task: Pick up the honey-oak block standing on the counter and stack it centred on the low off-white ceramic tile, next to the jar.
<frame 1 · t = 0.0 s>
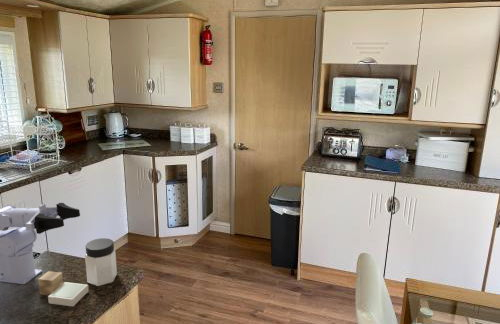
hand: (71, 217, 110), 22 cm above the countertop, tool horizontal, fingers open, 7 cm apart
oak block: (52, 290, 111), on the countertop
jar: (102, 279, 118), on the countertop
tile base: (69, 297, 108), on the countertop
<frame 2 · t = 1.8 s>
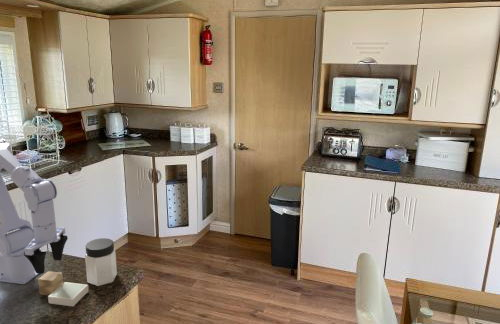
hand: (49, 266, 109), 8 cm above the countertop, tool pointing down, fingers open, 7 cm apart
nothing on the countertop moved.
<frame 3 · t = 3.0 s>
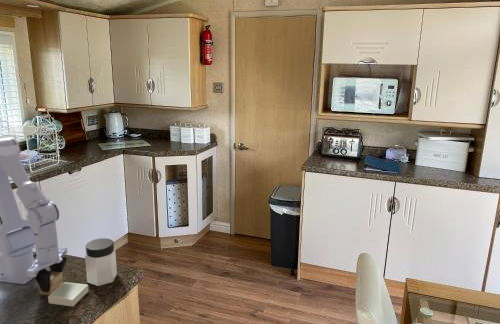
hand: (51, 286, 111), 1 cm above the countertop, tool pointing down, fingers closed on oak block, 4 cm apart
oak block: (52, 290, 111), on the countertop, touching gripper
everything else where it was.
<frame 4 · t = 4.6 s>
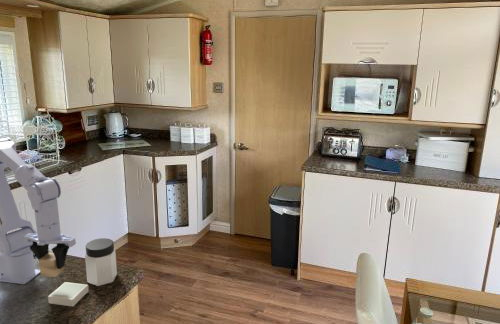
hand: (53, 266, 107), 9 cm above the countertop, tool pointing down, fingers closed on oak block, 4 cm apart
oak block: (53, 272, 107), point 7 cm above the countertop, touching gripper
everything else where it was.
when the fingers open (5 cm above the countertop, at t = 6.1 s): oak block stays where it is, resting on tile base.
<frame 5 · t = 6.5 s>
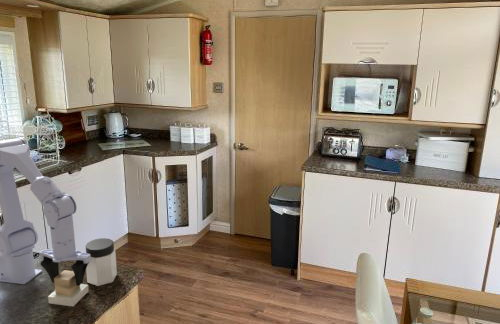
hand: (67, 282, 107), 5 cm above the countertop, tool pointing down, fingers open, 7 cm apart
oak block: (68, 290, 107), point 2 cm above the countertop, touching tile base
everything else where it was.
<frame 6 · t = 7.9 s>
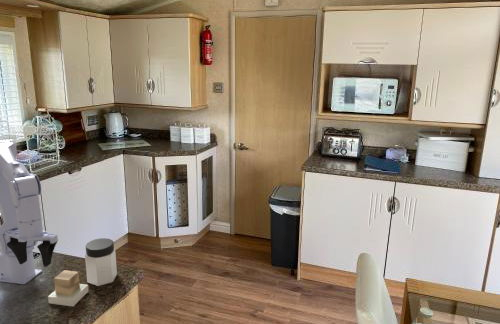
hand: (35, 263, 106), 10 cm above the countertop, tool pointing down, fingers open, 7 cm apart
nothing on the countertop moved.
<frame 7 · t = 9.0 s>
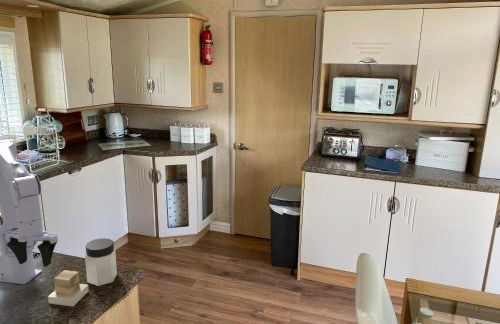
hand: (35, 263, 106), 10 cm above the countertop, tool pointing down, fingers open, 7 cm apart
nothing on the countertop moved.
at the end: oak block 0.2 cm off-centre on the tile base, point 2.3 cm above the tile base's base; oak block tilted 0°; the gripper is holding nothing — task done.
